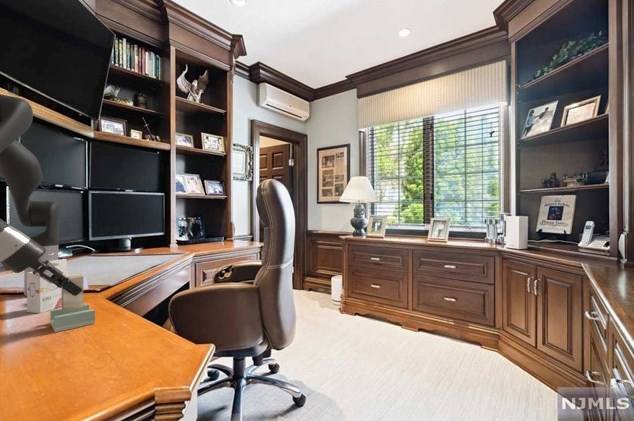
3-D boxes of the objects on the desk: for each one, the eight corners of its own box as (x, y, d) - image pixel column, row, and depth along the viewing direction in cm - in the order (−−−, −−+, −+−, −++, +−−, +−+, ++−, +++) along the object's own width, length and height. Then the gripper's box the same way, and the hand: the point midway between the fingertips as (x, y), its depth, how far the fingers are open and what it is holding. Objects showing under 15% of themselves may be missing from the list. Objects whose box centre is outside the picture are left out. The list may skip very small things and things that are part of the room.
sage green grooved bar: (50, 323, 81) (50, 309, 81) (87, 315, 87) (87, 303, 87) (54, 332, 75) (54, 317, 75) (94, 323, 81) (94, 310, 81)
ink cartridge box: (55, 304, 99) (56, 257, 99) (68, 305, 98) (68, 258, 98) (25, 312, 90) (26, 262, 90) (39, 313, 89) (39, 262, 89)
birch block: (61, 307, 81) (61, 276, 81) (80, 304, 84) (80, 274, 84) (63, 310, 78) (64, 279, 78) (83, 307, 81) (83, 276, 81)
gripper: (31, 238, 70) (95, 283, 79) (27, 236, 80) (84, 276, 89) (-3, 264, 66) (69, 309, 75) (-3, 258, 76) (60, 298, 85)
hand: (77, 291), depth 82 cm, fingers closed on birch block, 4 cm apart
